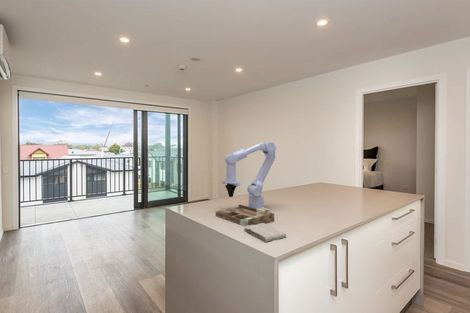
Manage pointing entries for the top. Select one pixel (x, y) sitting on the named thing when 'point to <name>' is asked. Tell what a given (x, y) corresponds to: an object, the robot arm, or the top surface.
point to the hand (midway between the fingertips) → (230, 196)
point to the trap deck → (244, 216)
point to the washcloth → (264, 232)
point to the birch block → (262, 212)
